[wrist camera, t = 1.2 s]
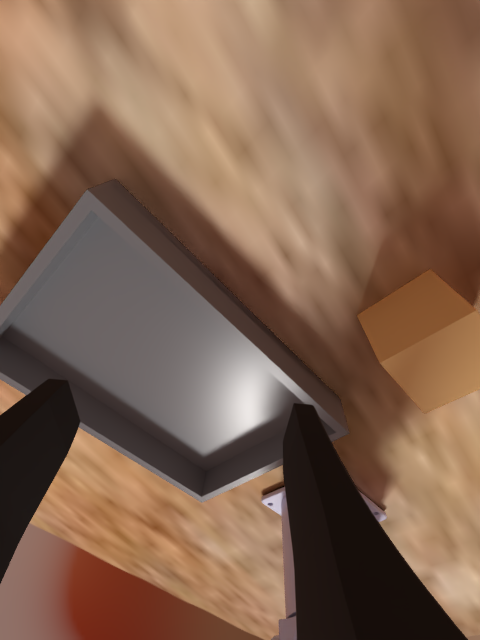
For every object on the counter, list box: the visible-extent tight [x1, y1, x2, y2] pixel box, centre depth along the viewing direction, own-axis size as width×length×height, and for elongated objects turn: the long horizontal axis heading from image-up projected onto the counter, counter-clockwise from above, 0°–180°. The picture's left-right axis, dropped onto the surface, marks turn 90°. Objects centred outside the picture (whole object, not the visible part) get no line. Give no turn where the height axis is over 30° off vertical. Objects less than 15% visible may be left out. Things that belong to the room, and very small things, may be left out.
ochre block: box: [357, 269, 480, 414], centre depth 17 cm, size 5×5×5 cm
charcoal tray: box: [0, 179, 350, 502], centre depth 21 cm, size 20×14×3 cm
